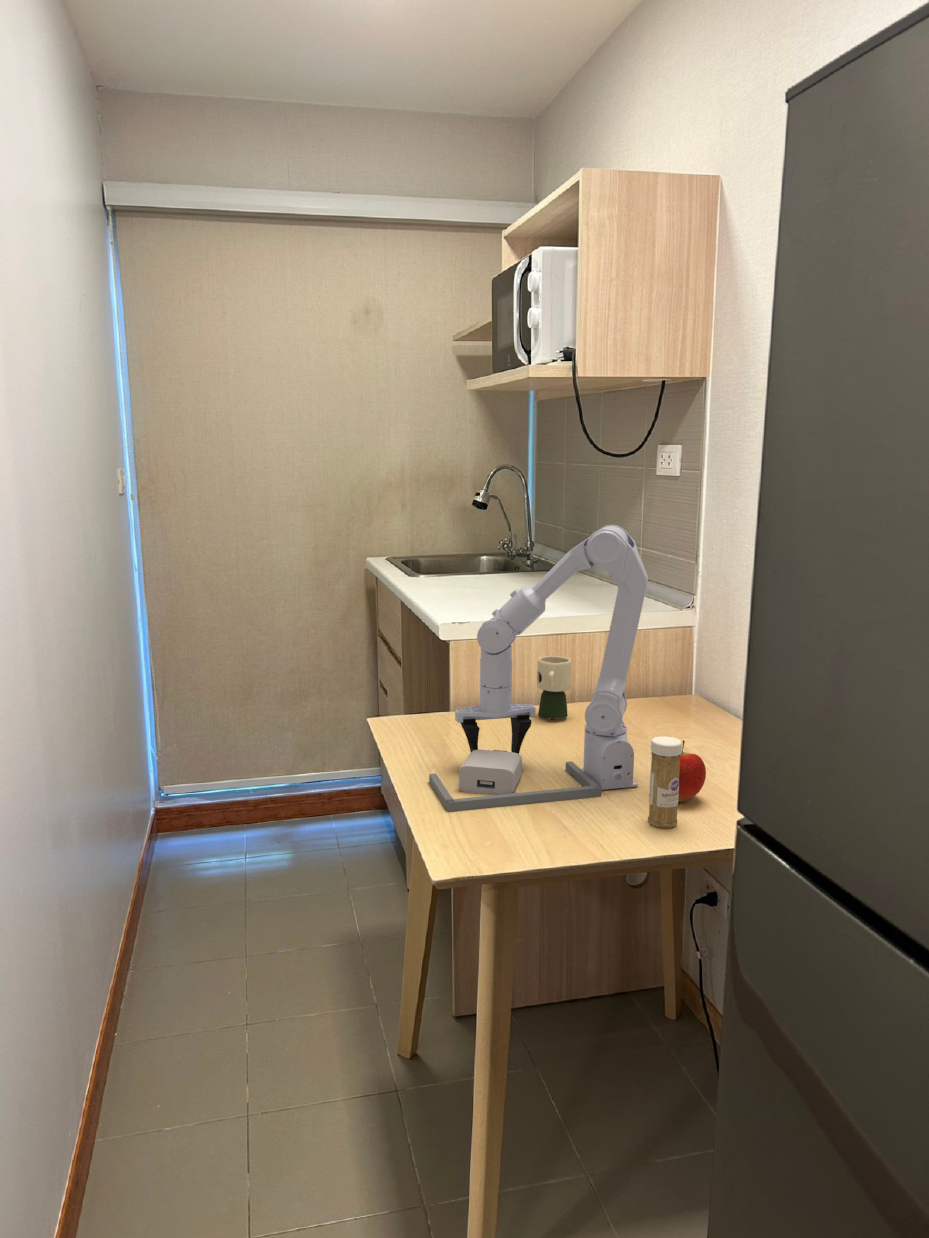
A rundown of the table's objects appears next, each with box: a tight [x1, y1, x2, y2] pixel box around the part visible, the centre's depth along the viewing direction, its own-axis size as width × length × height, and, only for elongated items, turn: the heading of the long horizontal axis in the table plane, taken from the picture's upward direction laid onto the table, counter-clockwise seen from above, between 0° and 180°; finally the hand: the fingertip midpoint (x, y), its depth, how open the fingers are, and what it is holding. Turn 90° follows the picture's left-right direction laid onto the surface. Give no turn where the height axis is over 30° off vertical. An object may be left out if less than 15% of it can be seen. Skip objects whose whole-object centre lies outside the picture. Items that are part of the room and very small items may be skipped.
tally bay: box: [428, 761, 603, 812], centre depth 151 cm, size 13×26×2 cm, turn 105°
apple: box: [678, 739, 707, 803], centre depth 146 cm, size 8×8×10 cm
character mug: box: [536, 655, 572, 721], centre depth 191 cm, size 11×7×13 cm, turn 167°
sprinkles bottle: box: [647, 735, 683, 829], centre depth 137 cm, size 5×5×13 cm
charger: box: [458, 749, 523, 796], centre depth 156 cm, size 5×9×15 cm
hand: (494, 757), depth 161 cm, fingers open, 7 cm apart
